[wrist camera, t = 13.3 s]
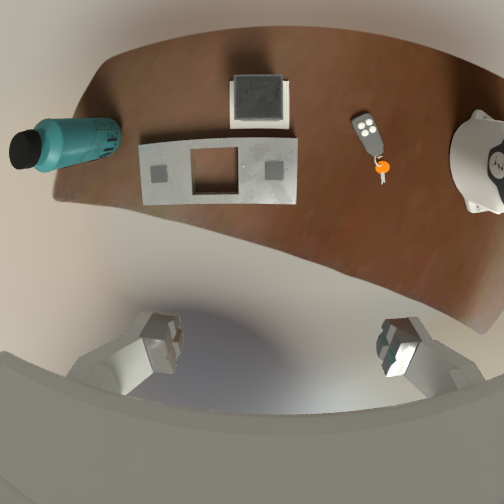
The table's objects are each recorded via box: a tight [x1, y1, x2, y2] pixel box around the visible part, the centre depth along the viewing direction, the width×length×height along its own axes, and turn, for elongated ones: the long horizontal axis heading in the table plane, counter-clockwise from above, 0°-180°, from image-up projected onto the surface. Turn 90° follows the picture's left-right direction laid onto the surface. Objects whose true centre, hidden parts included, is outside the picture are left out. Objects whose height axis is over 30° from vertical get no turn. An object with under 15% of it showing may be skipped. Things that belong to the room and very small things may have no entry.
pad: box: [230, 81, 289, 129], centre depth 33 cm, size 8×7×1 cm
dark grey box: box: [234, 74, 283, 122], centre depth 30 cm, size 5×5×7 cm
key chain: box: [351, 113, 390, 184], centre depth 35 cm, size 13×4×2 cm, turn 31°
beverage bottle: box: [9, 117, 121, 172], centre depth 26 cm, size 6×7×20 cm
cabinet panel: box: [139, 138, 298, 205], centre depth 36 cm, size 22×9×2 cm, turn 90°
